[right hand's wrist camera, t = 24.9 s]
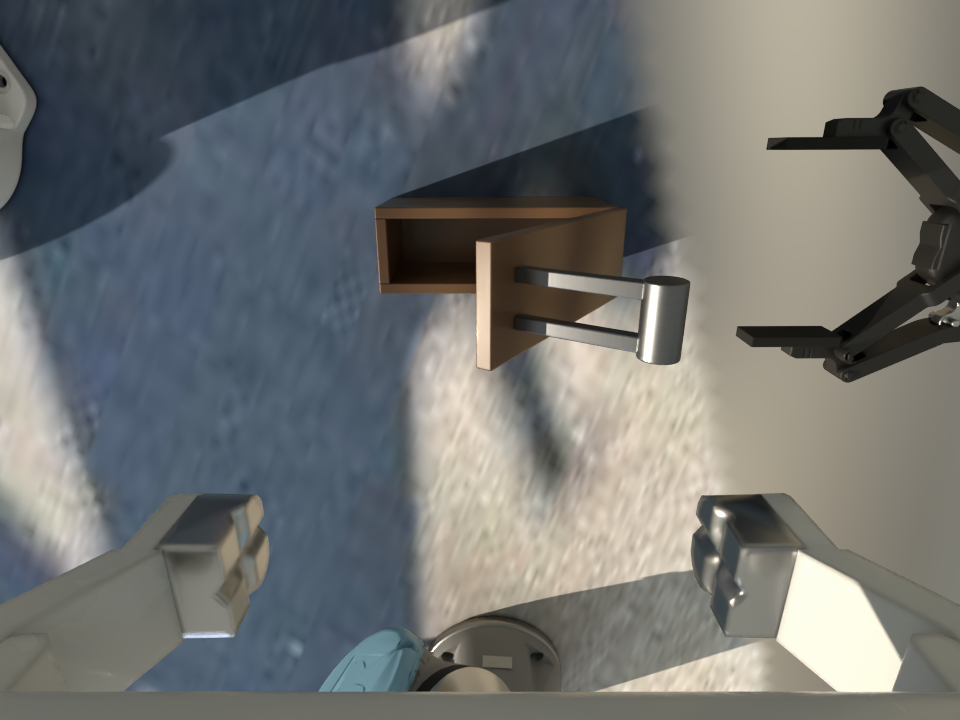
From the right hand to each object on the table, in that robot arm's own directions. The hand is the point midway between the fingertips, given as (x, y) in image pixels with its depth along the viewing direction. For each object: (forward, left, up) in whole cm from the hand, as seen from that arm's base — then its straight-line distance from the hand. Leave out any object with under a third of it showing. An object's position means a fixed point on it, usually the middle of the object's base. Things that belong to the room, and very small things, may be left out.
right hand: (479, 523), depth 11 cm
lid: (+1, +4, -22) cm, 23 cm away
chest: (0, +1, -38) cm, 38 cm away
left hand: (+6, +19, -32) cm, 37 cm away
